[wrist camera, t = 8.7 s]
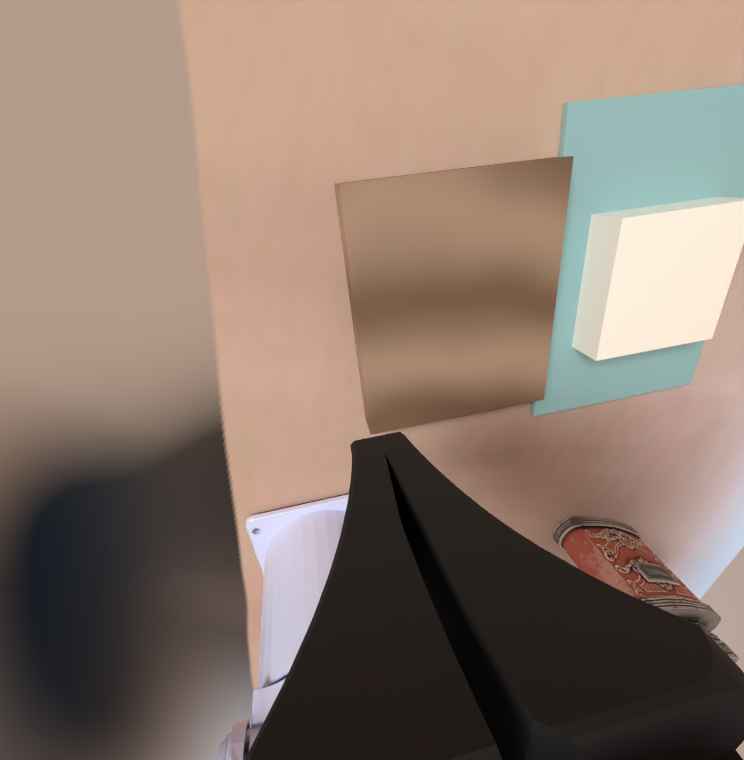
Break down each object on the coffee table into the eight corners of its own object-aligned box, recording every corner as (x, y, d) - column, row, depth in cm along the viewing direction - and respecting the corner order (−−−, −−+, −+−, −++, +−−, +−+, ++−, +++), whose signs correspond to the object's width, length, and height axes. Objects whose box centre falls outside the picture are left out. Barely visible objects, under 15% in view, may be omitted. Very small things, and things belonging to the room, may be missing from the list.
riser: (529, 387, 23) (543, 399, 22) (365, 419, 22) (370, 434, 21) (552, 157, 18) (573, 155, 16) (334, 183, 17) (338, 184, 15)
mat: (686, 381, 26) (690, 384, 26) (531, 414, 24) (533, 416, 24) (781, 81, 18) (788, 80, 18) (564, 103, 17) (568, 102, 17)
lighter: (641, 524, 32) (773, 653, 23) (616, 553, 33) (734, 686, 25) (568, 510, 30) (687, 650, 21) (544, 542, 31) (647, 687, 22)
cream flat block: (679, 326, 23) (711, 338, 21) (571, 346, 22) (595, 361, 21) (716, 196, 20) (758, 198, 18) (591, 214, 19) (622, 218, 17)
